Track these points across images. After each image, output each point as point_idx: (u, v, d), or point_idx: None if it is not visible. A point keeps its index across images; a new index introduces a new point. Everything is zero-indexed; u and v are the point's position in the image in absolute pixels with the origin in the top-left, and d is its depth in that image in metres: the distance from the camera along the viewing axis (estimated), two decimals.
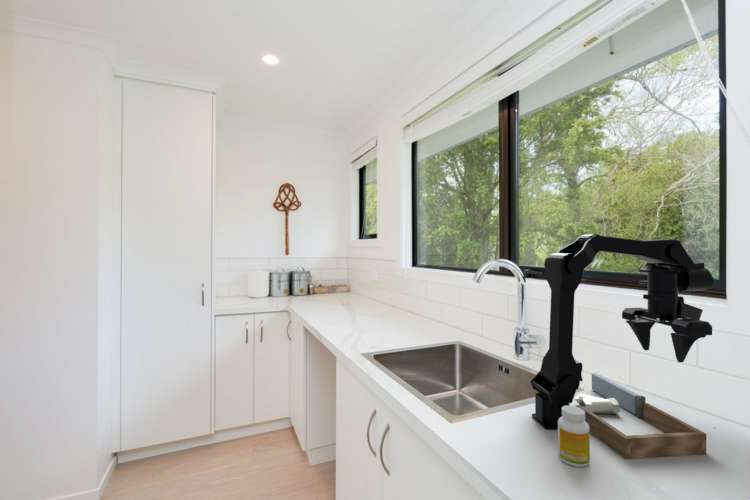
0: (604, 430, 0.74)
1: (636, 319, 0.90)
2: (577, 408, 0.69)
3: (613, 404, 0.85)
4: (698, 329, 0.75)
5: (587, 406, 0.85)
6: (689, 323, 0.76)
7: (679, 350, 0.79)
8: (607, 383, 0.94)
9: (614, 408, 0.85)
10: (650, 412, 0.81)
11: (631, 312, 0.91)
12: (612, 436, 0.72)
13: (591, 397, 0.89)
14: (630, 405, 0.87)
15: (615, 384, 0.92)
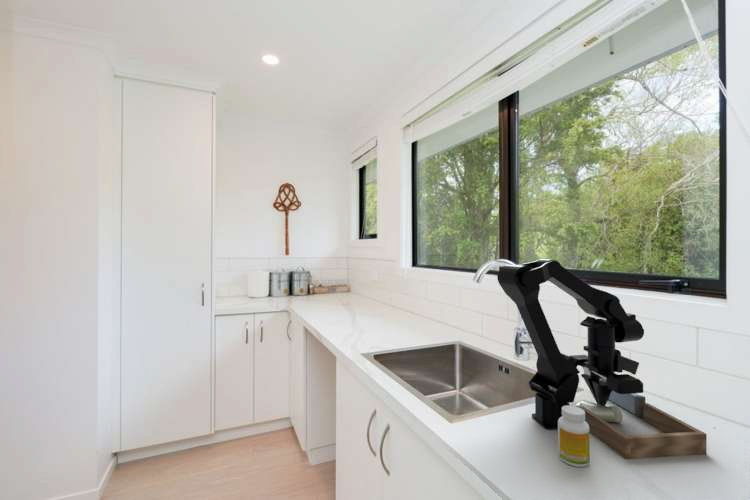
0: (604, 430, 0.74)
1: (591, 374, 0.87)
2: (577, 408, 0.69)
3: (615, 412, 0.81)
4: (629, 387, 0.77)
5: None
6: (621, 381, 0.78)
7: (600, 396, 0.85)
8: None
9: (616, 416, 0.81)
10: (650, 412, 0.81)
11: (574, 361, 0.92)
12: (612, 436, 0.72)
13: (592, 404, 0.85)
14: (630, 405, 0.87)
15: None
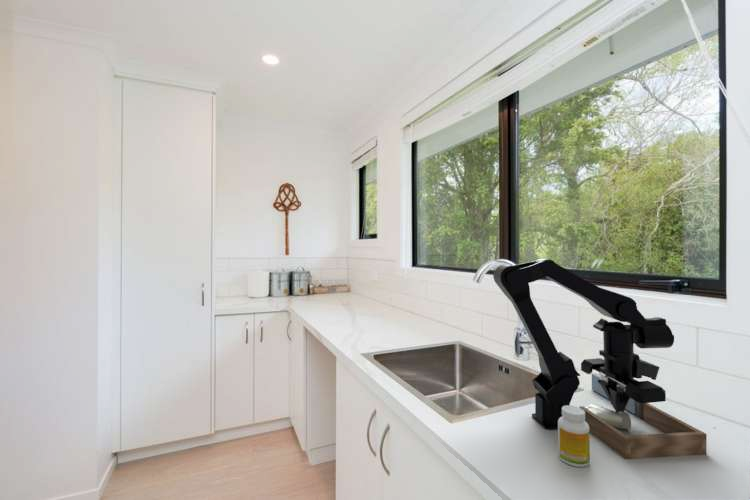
0: (604, 430, 0.74)
1: (608, 381, 0.82)
2: (577, 408, 0.69)
3: (623, 418, 0.78)
4: (651, 396, 0.72)
5: None
6: (641, 390, 0.73)
7: (617, 403, 0.81)
8: None
9: (624, 422, 0.78)
10: (650, 412, 0.81)
11: (589, 366, 0.87)
12: (612, 436, 0.72)
13: (601, 408, 0.82)
14: (630, 405, 0.87)
15: None
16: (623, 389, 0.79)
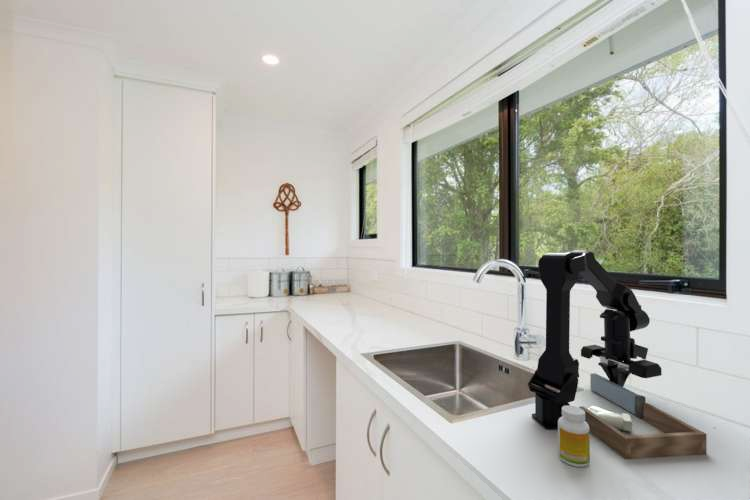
0: (604, 430, 0.74)
1: (608, 362, 0.95)
2: (577, 408, 0.69)
3: (624, 420, 0.78)
4: (651, 371, 0.85)
5: None
6: (644, 367, 0.85)
7: (618, 382, 0.93)
8: (606, 383, 0.94)
9: (625, 424, 0.77)
10: (650, 412, 0.81)
11: (589, 351, 0.99)
12: (612, 436, 0.72)
13: (602, 410, 0.82)
14: (630, 405, 0.87)
15: (614, 384, 0.92)
16: (625, 369, 0.91)
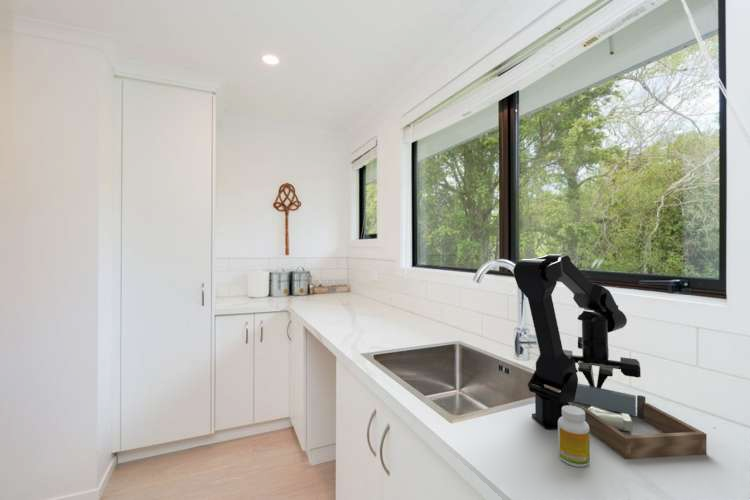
0: (604, 430, 0.74)
1: (589, 367, 0.91)
2: (577, 408, 0.69)
3: (624, 420, 0.78)
4: None
5: None
6: (637, 366, 0.85)
7: (601, 385, 0.90)
8: (592, 390, 0.90)
9: (626, 424, 0.77)
10: (650, 412, 0.81)
11: None
12: (612, 436, 0.72)
13: (602, 410, 0.82)
14: (629, 408, 0.85)
15: (601, 389, 0.89)
16: (610, 370, 0.89)
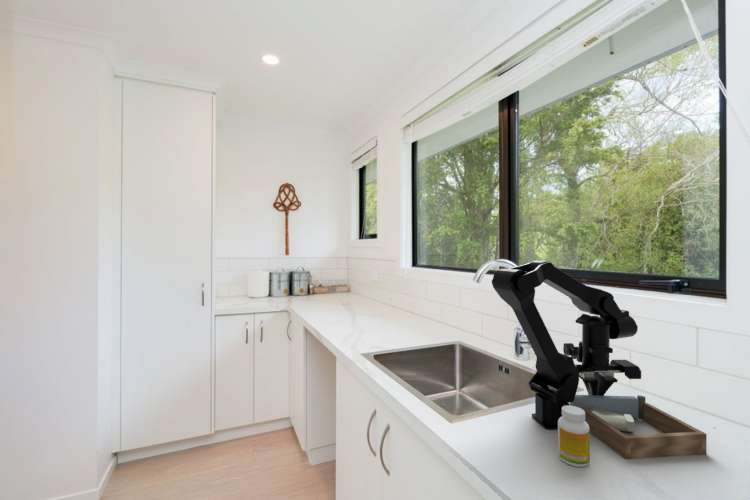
0: (604, 430, 0.74)
1: None
2: (577, 408, 0.69)
3: (627, 421, 0.77)
4: None
5: None
6: (638, 367, 0.84)
7: None
8: (599, 399, 0.84)
9: (629, 425, 0.77)
10: (650, 412, 0.81)
11: None
12: (612, 436, 0.72)
13: (604, 411, 0.81)
14: (633, 410, 0.84)
15: (605, 396, 0.85)
16: (613, 376, 0.85)
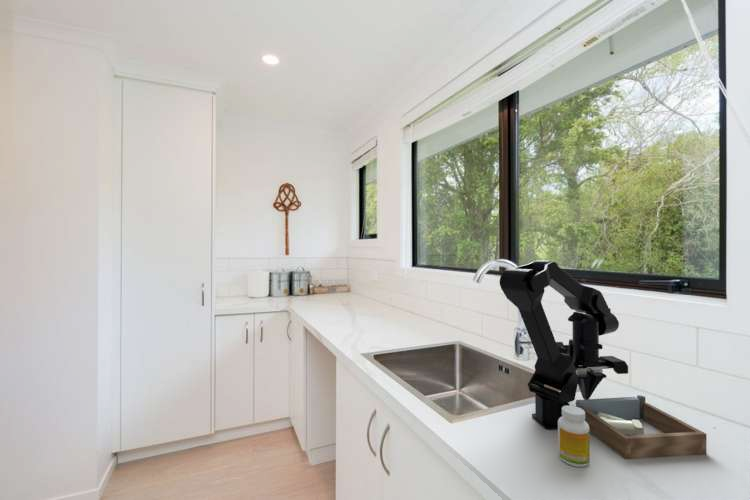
0: (604, 430, 0.74)
1: None
2: (577, 408, 0.69)
3: (636, 427, 0.75)
4: None
5: None
6: (625, 362, 0.88)
7: None
8: (604, 403, 0.83)
9: (637, 431, 0.75)
10: (650, 412, 0.81)
11: None
12: (612, 436, 0.72)
13: (611, 417, 0.79)
14: (634, 411, 0.83)
15: (609, 399, 0.84)
16: (601, 371, 0.88)
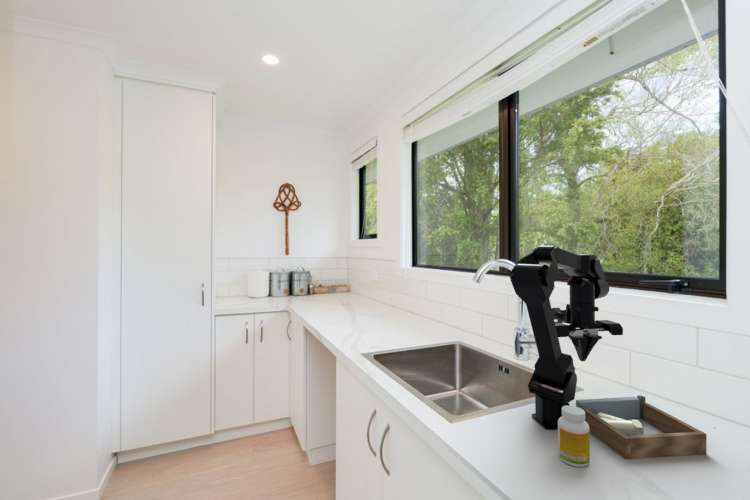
0: (604, 430, 0.74)
1: None
2: (577, 408, 0.69)
3: (636, 427, 0.75)
4: None
5: None
6: None
7: None
8: (604, 403, 0.83)
9: (637, 431, 0.75)
10: (650, 412, 0.81)
11: (567, 328, 0.89)
12: (612, 436, 0.72)
13: (611, 417, 0.79)
14: (634, 411, 0.83)
15: (609, 399, 0.84)
16: (597, 333, 0.91)
